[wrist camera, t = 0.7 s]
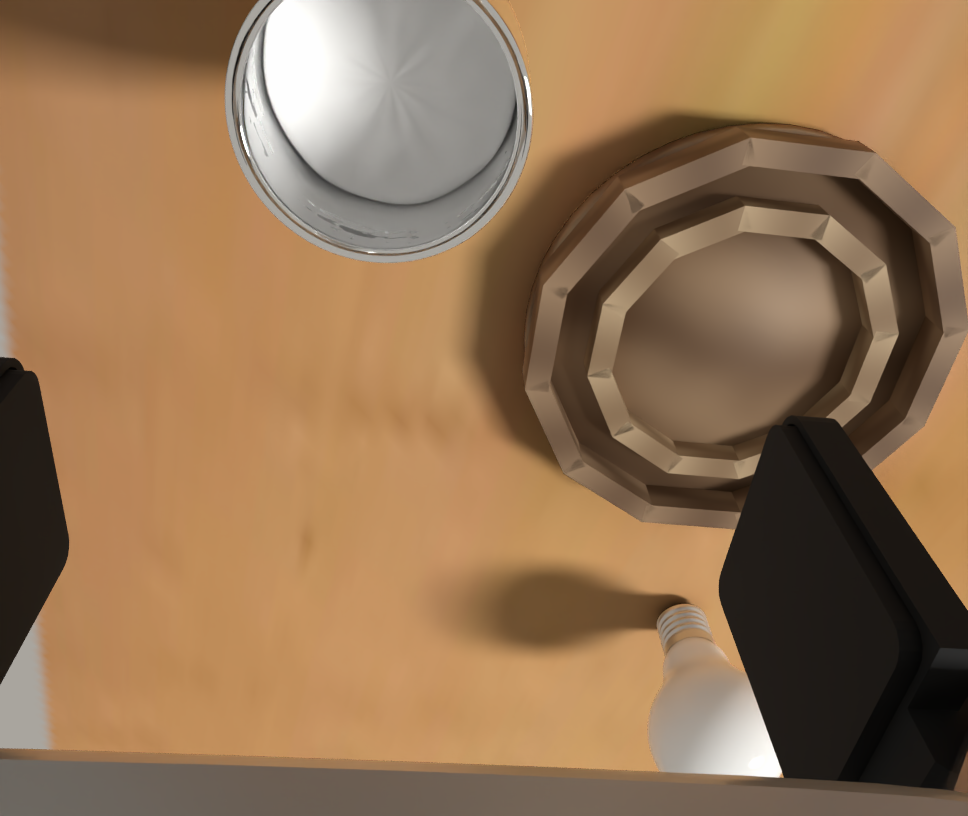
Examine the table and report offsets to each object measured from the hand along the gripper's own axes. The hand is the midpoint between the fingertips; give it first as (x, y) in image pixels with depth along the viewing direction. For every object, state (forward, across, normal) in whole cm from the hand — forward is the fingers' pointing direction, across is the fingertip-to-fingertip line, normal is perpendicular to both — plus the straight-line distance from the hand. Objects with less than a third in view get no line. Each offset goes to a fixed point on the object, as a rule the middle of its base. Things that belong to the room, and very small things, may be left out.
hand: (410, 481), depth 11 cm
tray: (+25, -14, +9) cm, 30 cm away
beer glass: (+25, +1, -2) cm, 25 cm away
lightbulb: (+25, -15, +26) cm, 39 cm away
